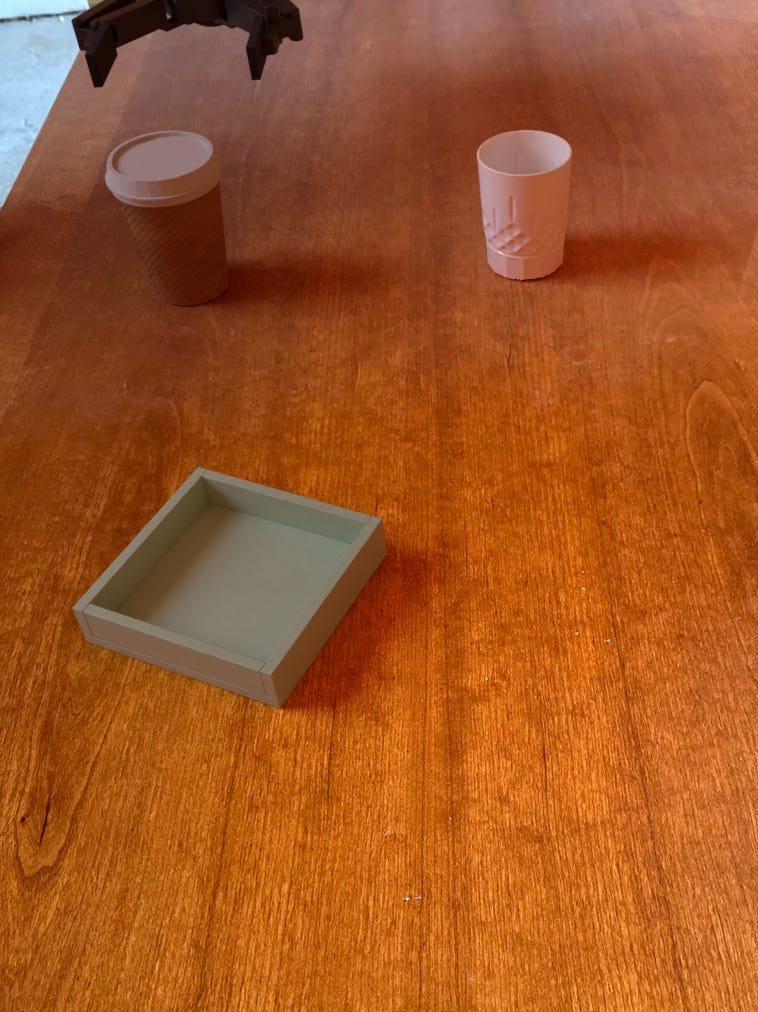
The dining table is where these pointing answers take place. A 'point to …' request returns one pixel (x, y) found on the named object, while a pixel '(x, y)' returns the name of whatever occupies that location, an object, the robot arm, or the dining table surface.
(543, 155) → the white cup
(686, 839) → the dining table surface
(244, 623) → the square tray
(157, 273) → the disposable coffee cup
